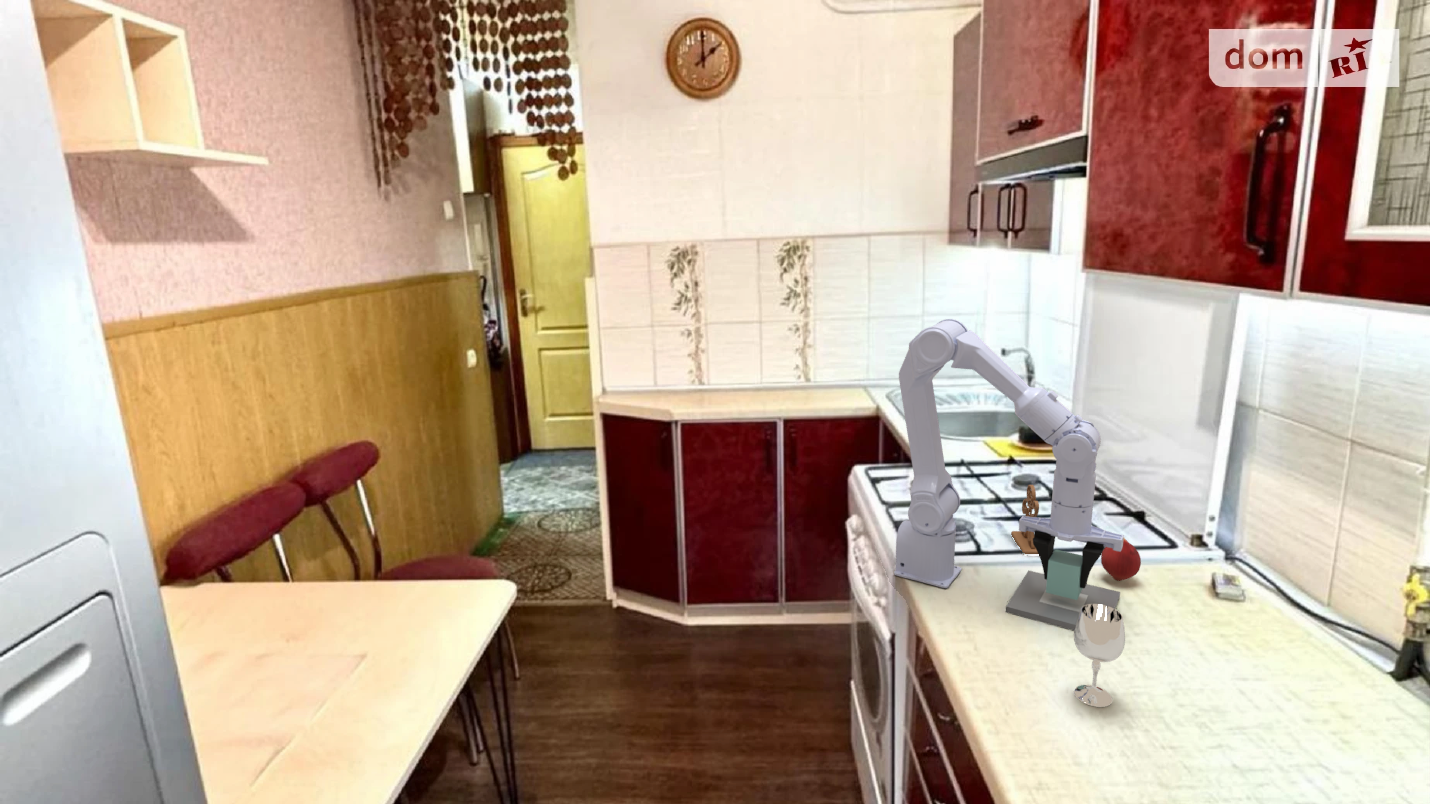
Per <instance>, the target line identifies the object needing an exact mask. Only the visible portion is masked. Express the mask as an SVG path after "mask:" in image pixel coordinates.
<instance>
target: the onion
mask: <svg viewBox="0 0 1430 804" xmlns="http://www.w3.org/2000/svg"><path fill="white" fill-rule="evenodd" d="M1141 559H1142V558H1141V555H1140V553H1139V551H1138V550H1137V548H1136V547H1135V546H1134V545H1133V544H1131V543H1130V542H1129V541H1128V540H1127V539H1126V538H1125V537H1124V539H1123V547H1122V550H1121V552H1119V551H1115V550H1113V548H1109V547H1104V550H1103V552H1102V554H1101V556H1100V561H1101V562H1100V563H1101V566H1102V568H1103V569H1104V570H1105V571H1106V572H1107V574H1109V575H1110V577H1111V578H1113V580H1115V581H1117V582H1123V581H1126V580H1129V579H1131V578H1132V577H1134V576H1135V575H1137V574H1138V573H1139V571H1140V569H1141V564H1142V563H1141V562H1142V560H1141Z"/></svg>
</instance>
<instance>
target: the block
mask: <svg viewBox="0 0 1430 804" xmlns="http://www.w3.org/2000/svg"><path fill="white" fill-rule="evenodd" d="M1081 573H1082V554H1079V553H1073V552H1069V551H1063V550H1059V549H1054V550H1053V554H1052V555H1051V557H1050V559H1049V561H1048V573H1047V586H1046V593H1050V594H1054V595H1058V596H1062V597H1066V598H1070V599H1074V600H1077V599H1078V597H1079V595H1080V593H1081V591H1082V589H1083V588H1080V578H1081Z"/></svg>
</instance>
